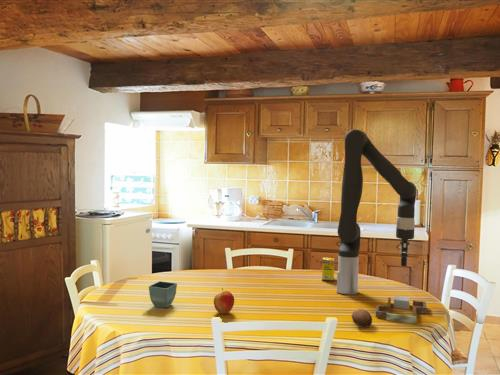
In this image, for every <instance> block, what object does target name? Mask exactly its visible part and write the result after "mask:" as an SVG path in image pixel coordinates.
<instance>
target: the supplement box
mask: <svg viewBox="0 0 500 375" xmlns="http://www.w3.org/2000/svg"><path fill="white" fill-rule="evenodd" d="M321 266H322V267H321V273H322V274H321V281H322V282H334V281H335V280H334V279H335V258H333V257H322V265H321Z"/></svg>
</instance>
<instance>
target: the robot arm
mask: <svg viewBox="0 0 500 375" xmlns="http://www.w3.org/2000/svg"><path fill="white" fill-rule="evenodd" d="M362 156H363V157H364V158H366V159H367V160H368V162H369V163H370V164H371V165H372V167H373V168H374V170H375V171H376V172H377V173H378V174H379V175H380V176H381V178H383V179H384V180H385V181H386V182H387V183H388V184H389V185H390V186H391V187H392V189H393V191H395V192H396V194H397V195H399V203H398V206H397V218H396V229H395V237H396V238H397V239H399V240H401V241H399V249H400V250H399V253H401V254H400V260H401V261H400V266H401V267H407V264H408V263H407V260H408V257H409V256H408V254H409V249H410V242H409V240H413V239H414V238H415V228H416V227H415V225H416V224H415V222H416V221H415V215H416V214H415V212H416V211H415V210H416V209H415V204H416V197H417V187H416V185H415V183H413V182H412V181H408V179H406V177H404V176H403V174H402V172H401V171H400V170H399V169H398V168H397V167H396V166H395V165H394V164H393V163H392V162H391V161H390V160H389V159H388V158H386V157H385V155H384V154H382V153H381V152H380V151H379V150H378V149H377V147H376V146H375V144H374V143H372V141H371V140H370V138H369V137H368V136H367V134H366V132H365V131H363V130H360V129H356V128H355V129H351V130H349V131H348V132H347V133H346V134H345V136H344V164H343V172H342V181H341V196H340V197H341V198H340V199H341V200H340V216H339V221H338V226H337V235H338V238H339V239H340V240H339V241H340V243H339V248H338V256H337V258H338V261H337V273H336V275H337V276H336V293H339V294H342V295H351V296H352V295H358V290H359V287H358V286H359V262H360V261H359V259H360V256H359V255H360V254H359V253H360V248H361V228H360V225H359V224H358V223H357V219H358V217H357V216H358V210H359V207H360V202H361V199H362V196H363V186H364V175H363V169H362Z"/></svg>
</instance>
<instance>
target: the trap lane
mask: <svg viewBox="0 0 500 375" xmlns="http://www.w3.org/2000/svg"><path fill="white" fill-rule="evenodd" d="M391 298H392V297H387V305H382V304H377V305H376V310H375V318H376V317H377V318H376V319H383V318H384V320H386V321H392V322H396V323H397V322H398V323H399V322H400V323H406V324H407V323H408V324H413V325H415V324H417V323H418V314H422V315H427V307H428V306H427V303H426V302H427V301H423V300H421V301H420V300H416V299H413V300H412V308H413V309H412V310H413V311H412V313H413V314H412V315H407V314H397V313H391V312H390V311H391V305H390V304H391V301H392V299H391Z"/></svg>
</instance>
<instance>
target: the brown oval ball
mask: <svg viewBox="0 0 500 375" xmlns="http://www.w3.org/2000/svg"><path fill="white" fill-rule="evenodd" d="M351 319H352V322H353V323H354V324H355V325H357V326H358V327H359V328H362V329H363V328H364V329H366V328H369V327H371V325H372V324H373V317H372V315H371V314H370V312H369V311H367V310H366V309H365V308H356V309H355V310H353V311H352V313H351Z"/></svg>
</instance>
